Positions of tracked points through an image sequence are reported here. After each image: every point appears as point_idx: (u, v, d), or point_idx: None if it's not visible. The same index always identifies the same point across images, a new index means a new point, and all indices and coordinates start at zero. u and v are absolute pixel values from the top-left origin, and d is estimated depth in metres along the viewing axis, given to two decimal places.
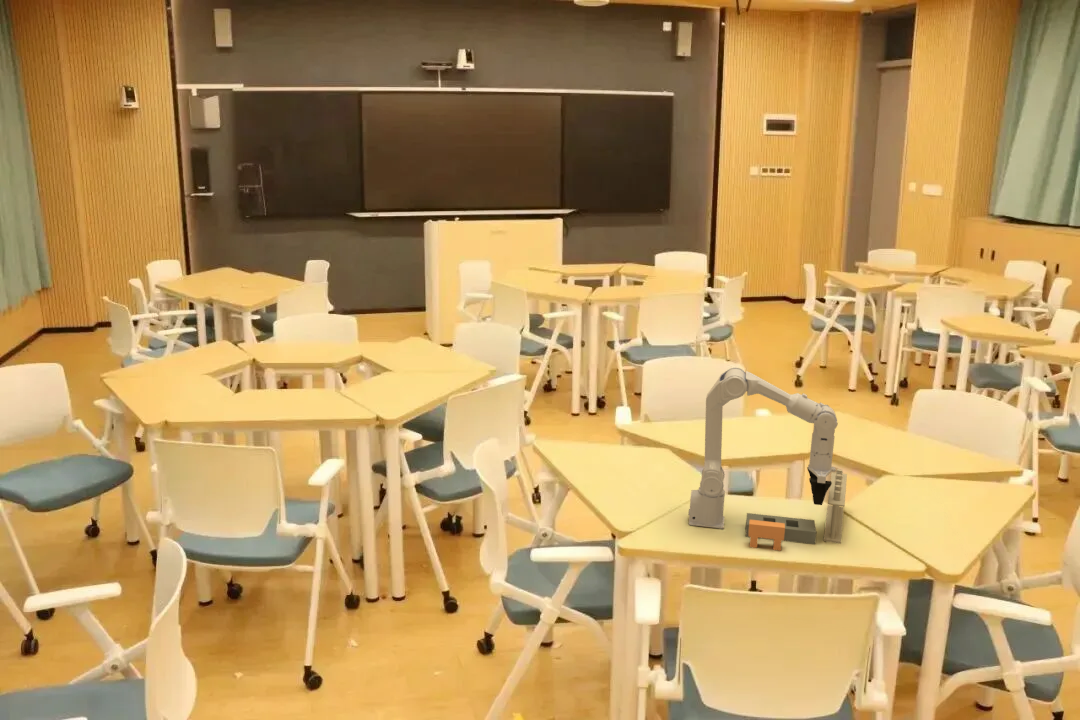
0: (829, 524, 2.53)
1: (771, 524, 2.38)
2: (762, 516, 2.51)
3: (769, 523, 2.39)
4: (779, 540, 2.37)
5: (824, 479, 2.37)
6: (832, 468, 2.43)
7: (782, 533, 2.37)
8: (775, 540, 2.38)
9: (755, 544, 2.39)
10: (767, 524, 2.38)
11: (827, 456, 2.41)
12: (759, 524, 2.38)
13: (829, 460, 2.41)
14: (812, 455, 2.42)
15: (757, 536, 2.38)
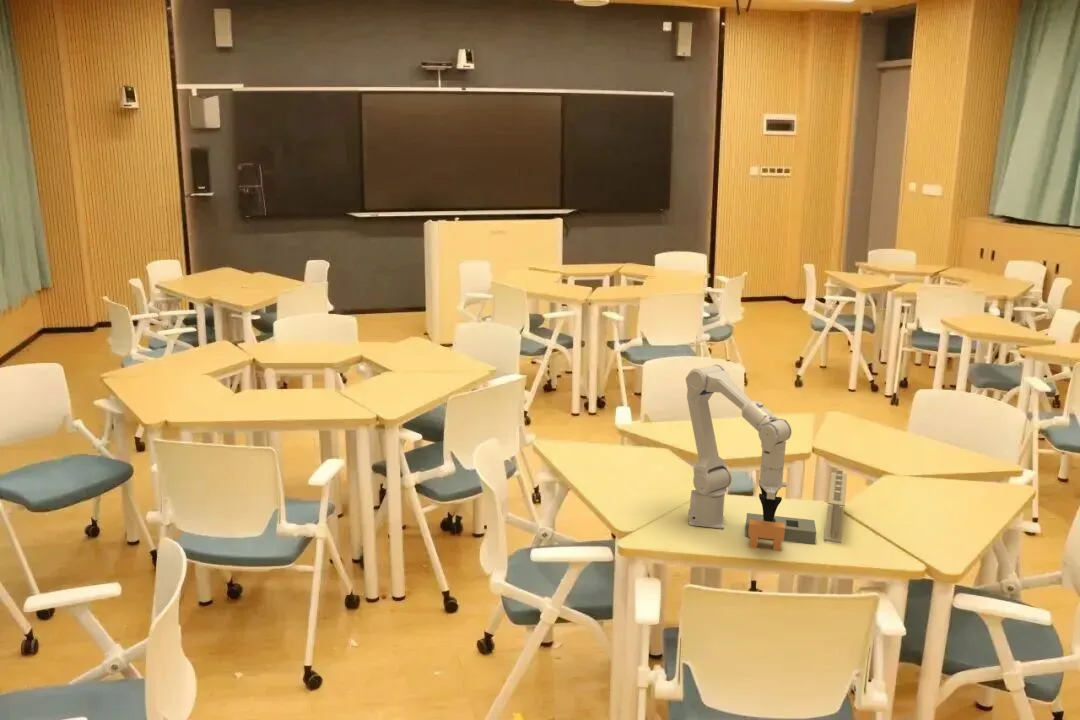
0: (829, 524, 2.53)
1: (771, 524, 2.38)
2: (762, 516, 2.51)
3: (769, 523, 2.39)
4: (779, 540, 2.37)
5: (773, 495, 2.29)
6: (783, 483, 2.35)
7: (782, 533, 2.37)
8: (775, 540, 2.38)
9: (755, 544, 2.39)
10: (767, 524, 2.38)
11: (777, 471, 2.32)
12: (759, 524, 2.38)
13: (779, 475, 2.33)
14: (762, 470, 2.34)
15: (757, 536, 2.38)
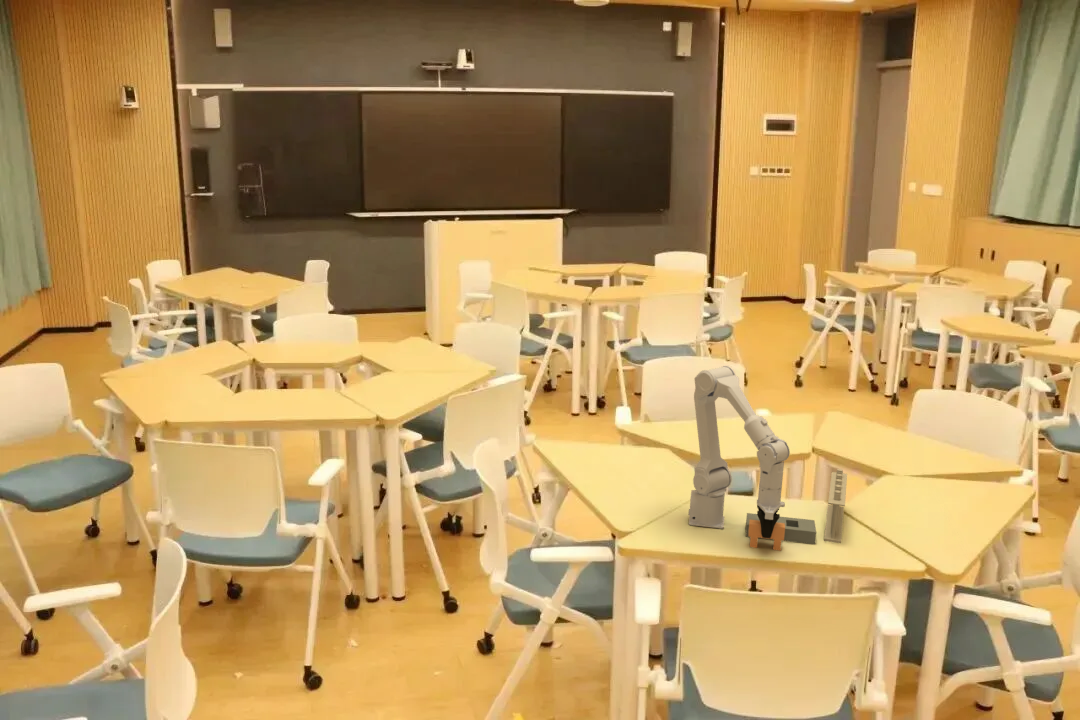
0: (829, 524, 2.53)
1: None
2: None
3: None
4: (779, 540, 2.37)
5: (772, 515, 2.30)
6: (781, 503, 2.36)
7: (782, 533, 2.37)
8: (775, 540, 2.38)
9: (755, 544, 2.39)
10: None
11: (775, 491, 2.33)
12: (759, 524, 2.38)
13: (778, 495, 2.34)
14: (760, 490, 2.35)
15: (757, 536, 2.38)
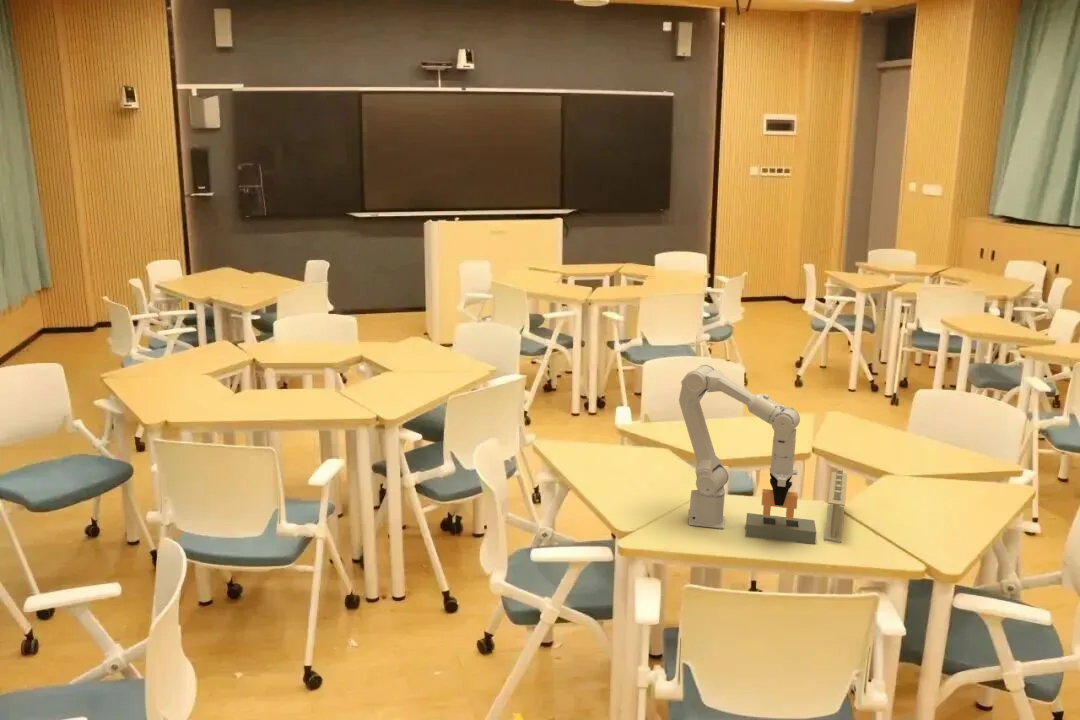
0: (829, 524, 2.54)
1: None
2: (762, 516, 2.51)
3: None
4: (792, 509, 2.41)
5: (784, 482, 2.34)
6: (794, 471, 2.40)
7: (795, 502, 2.40)
8: (788, 509, 2.41)
9: (768, 513, 2.43)
10: None
11: (788, 459, 2.37)
12: (772, 493, 2.42)
13: (790, 463, 2.38)
14: (773, 458, 2.39)
15: (770, 505, 2.42)
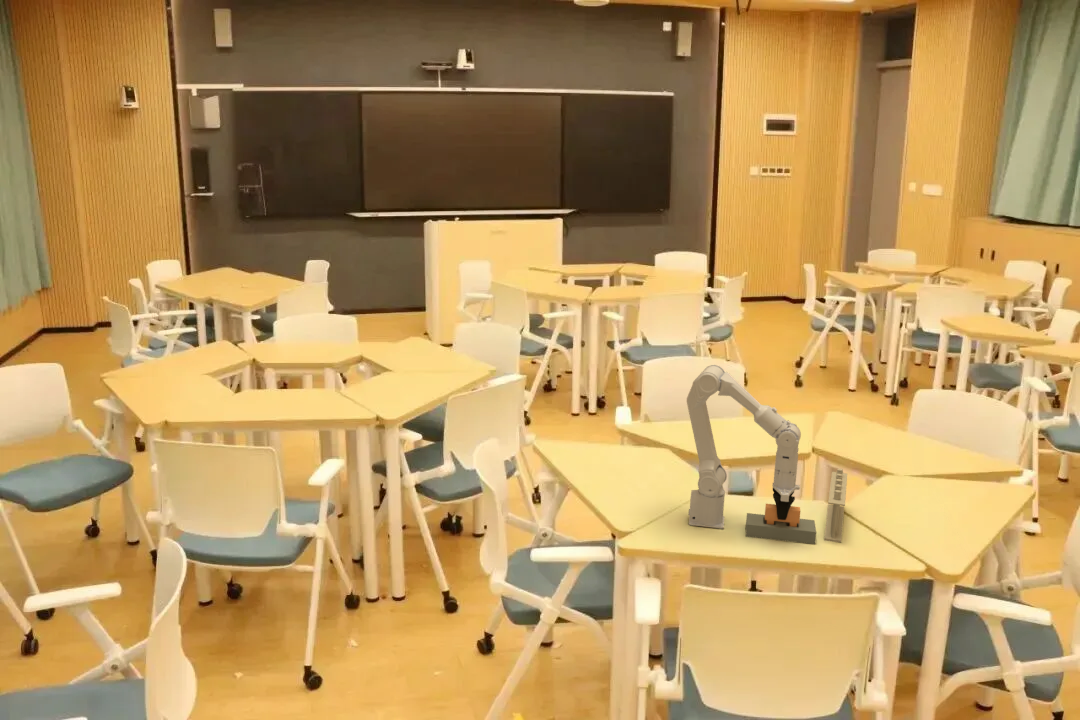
0: (829, 523, 2.54)
1: None
2: (762, 516, 2.51)
3: None
4: (795, 523, 2.45)
5: (787, 497, 2.38)
6: (796, 486, 2.43)
7: (798, 516, 2.44)
8: (791, 523, 2.45)
9: None
10: None
11: (791, 474, 2.41)
12: (775, 508, 2.45)
13: (793, 478, 2.41)
14: (776, 473, 2.43)
15: (773, 519, 2.46)
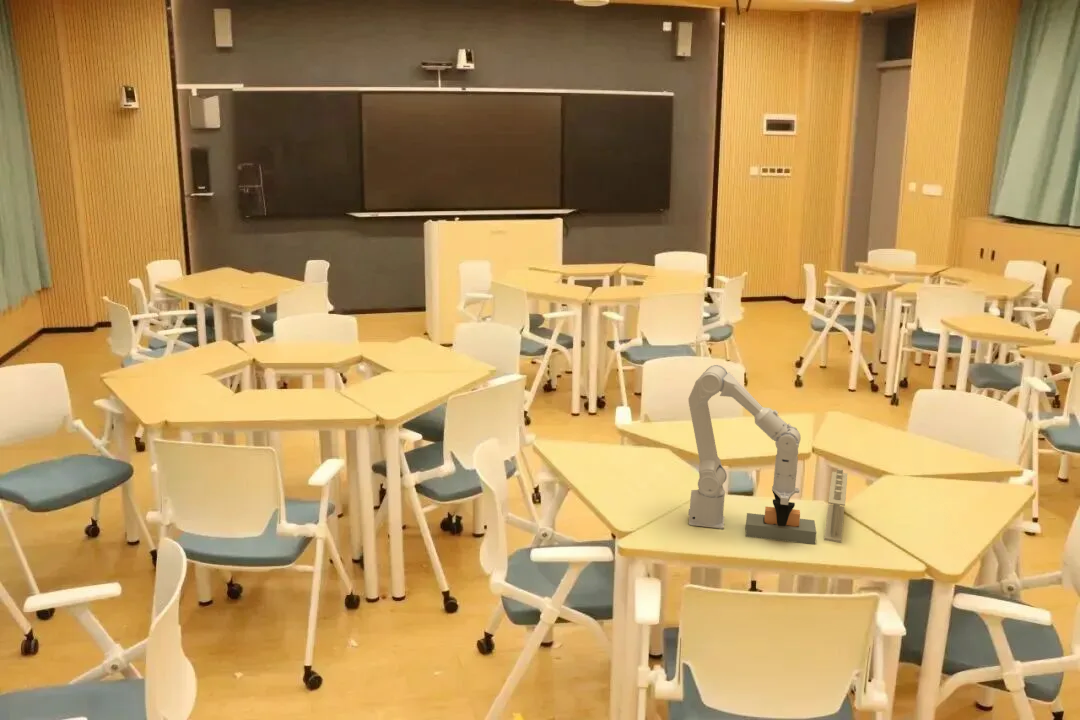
0: (830, 523, 2.54)
1: None
2: (762, 516, 2.51)
3: None
4: (794, 526, 2.45)
5: (787, 500, 2.38)
6: (796, 489, 2.44)
7: (797, 519, 2.44)
8: (790, 526, 2.45)
9: None
10: None
11: (790, 477, 2.41)
12: (775, 511, 2.45)
13: (792, 481, 2.42)
14: (776, 476, 2.43)
15: (773, 522, 2.46)
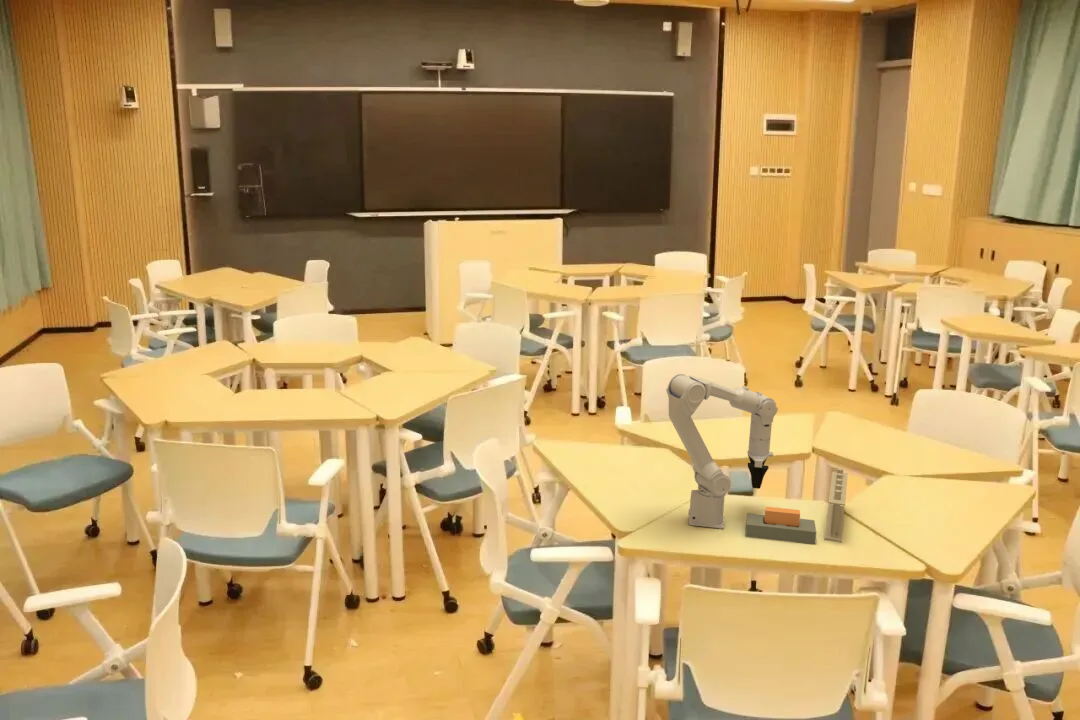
0: (830, 523, 2.54)
1: (786, 510, 2.46)
2: (762, 516, 2.51)
3: (784, 510, 2.46)
4: (794, 526, 2.45)
5: (761, 463, 2.48)
6: (770, 453, 2.54)
7: (797, 519, 2.44)
8: (790, 526, 2.45)
9: None
10: (782, 511, 2.45)
11: (764, 442, 2.52)
12: (775, 511, 2.45)
13: (766, 445, 2.52)
14: (750, 441, 2.53)
15: (773, 522, 2.46)
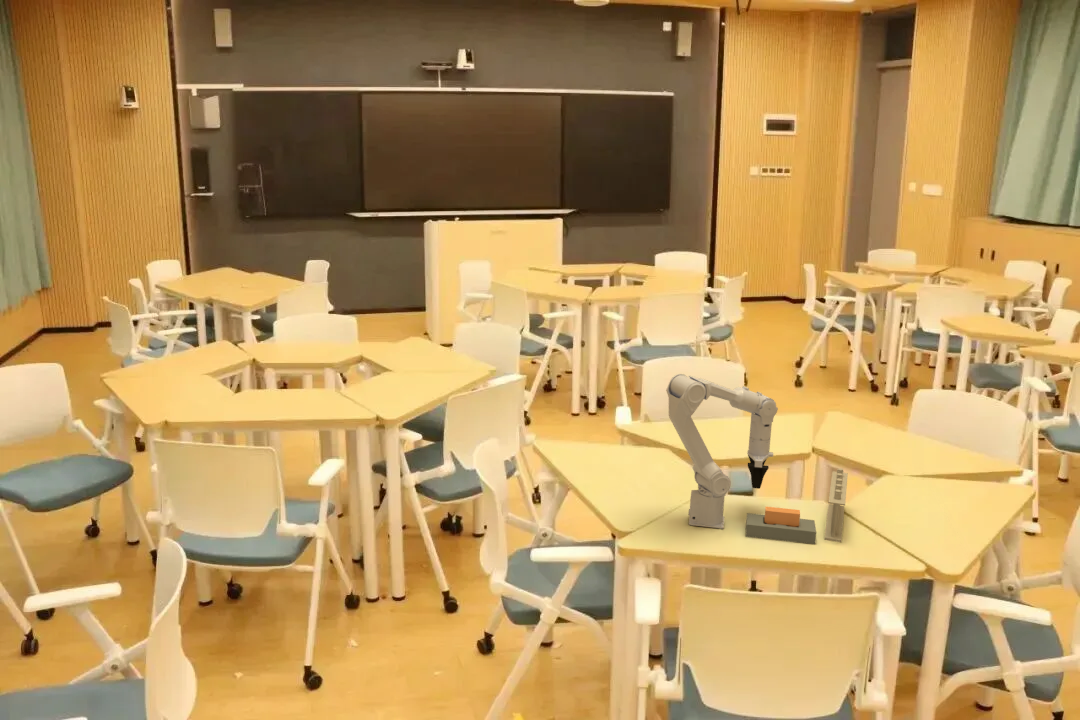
0: (830, 523, 2.54)
1: (786, 510, 2.46)
2: (762, 516, 2.51)
3: (784, 510, 2.46)
4: (794, 526, 2.45)
5: (761, 463, 2.48)
6: (770, 453, 2.54)
7: (797, 519, 2.44)
8: (790, 526, 2.45)
9: None
10: (782, 511, 2.45)
11: (764, 442, 2.52)
12: (775, 511, 2.45)
13: (766, 445, 2.52)
14: (750, 441, 2.53)
15: (773, 522, 2.46)
